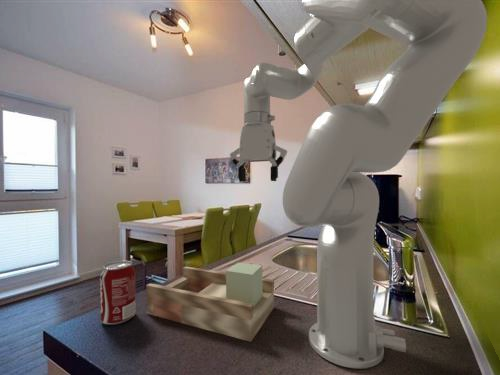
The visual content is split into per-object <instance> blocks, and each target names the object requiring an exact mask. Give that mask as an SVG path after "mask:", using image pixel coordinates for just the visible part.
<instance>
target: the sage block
mask: <svg viewBox="0 0 500 375" xmlns="http://www.w3.org/2000/svg"><path fill="white" fill-rule="evenodd" d="M225 273H226V299H230V300H235V301H240V302H245V303H250V304H253V307H254V306H255V305H256V304H257V303H258V301H259V300H260V299H261V298H262V297H263V291H262V278H263V265H260V264H255V263H254V264H253V263H245V262H237V263H235V264H233V266H231V267H229V268H227V270H225Z"/></svg>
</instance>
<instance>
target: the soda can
mask: <svg viewBox="0 0 500 375" xmlns="http://www.w3.org/2000/svg"><path fill="white" fill-rule="evenodd" d="M132 264H133V263H132V261H131V260H117V261H111V262H108V263H106V264H104V265H103V270H102V271H101V273H100V276H99V287H100V288H99V290H100V291H99V293H100V296H99V297H100V303H99V304H100V322H101V323H102V324H103V325H107V326H108V325H109V326H116V325H121V324H123V323H126V322H127V321H130V320H131V318H133V317H134V316H135V315H136V311H137V309H136V269H135V268H134V266H133V265H132Z"/></svg>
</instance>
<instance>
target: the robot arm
mask: <svg viewBox="0 0 500 375" xmlns="http://www.w3.org/2000/svg"><path fill="white" fill-rule="evenodd" d="M301 6H302V8H303V10H304V11H305V13H307V14H308V15H309V17H308V18H307V19H306V20H305V22H303V23H302V24H301V25H300V26H299V27H298V29H297V30H296V31H295V34H294V37H293V38H294V40H293V42H294V44H293V45H294V49H295V51H296V54H297V56H298V58H299V59H300V60H301V62H302V63H303V64H302V65H301V66H299V67H298V68H297V69H295V70H293V69H291V68H286V67H284V66H279V65H277V64H272V63H269V62H260V63H258V64H257V65H256V66H255V67H254V68H253V70H252V72H251V73H250V75H249V76H248V77H247V78H246V79H245V80H244V82H243V125H242V127H241V131H240V132H241V133H240V137H239V147H238V148H237V149H235V150H234V151H232V152H230V153H229V157H230V159H231V161H232V163H233V165H235V166H236V168H237V177H238V181H239V182H246V179H247V178H246V177H247V174H246V173H247V172H246V168H245V166H246V165H247V163H256V162H257V163H258V162H269V163H270V164H271V166H270V181H271V182H277V179H278V178H279V167H280V165H281V164H282V163H283V162H284V160H285V158H286V156H287V153H288V150H287V149H285V148H283V147H280V146H278V145H277V142H276V134H275V129H274V125H272V122H274V121H275V120H276V116H275V115H271V97H272V98H277V99H282V100H287V101H290V100H295V99H297V98H300V97H301V96H303V95H304V94H306V93H307V92H308V91H310V90H311V89H313V88H314V86H315V85H316V83H317V82H318V80H319V78H320V77H321V74H322V70H323V66H324V63H325V62H326V61H328V59H330V58H331V57H333V56H334V55H336V53H338V52H339V51H340V50H342V49H344V48H345V47H346V46H347V45H349V44H350V43H351V42H353V41H354V40H355V39H357V38H358V37H359V36H360V35H362V34H363V33H364V32H366V31H367V30H369V29H371V30H373V31H375V32H377V33H380V34H381V35H383V36H385V37H387V38H389V39H392V40H393V41H394V40H395V41H396V42H398V43H401V44H402V45H403V46H405V47H406V51H404V53H402V54H401V55H399V56H398V58H396V59H395V60H394V61H393V62H392V63H391V64H390V65H389V67H388V68H386V70H385V71H384V73H383V74H382V75H381V76H380V79H379V80H378V83H377V84H376V87H375V88H374V90H373V92H372V93H371V95H370V97H369V99H368V100H367V101H366V103H365V104H364V105H360V104H358V103H357V104H356V103H349V102H348V103H338V104H335V105H332V106H330V107H328V108H326V109H325V110H324V111H322V112H321V113H320V114H319V116H317V118H316V119H314V121H313V122H312V124H311V126H310V127H309V129H308V131H307V133H306V135H305V138H304V140H303V142H302V144H301V147H300V149H299V151H298V154H297V156H296V158H295V160H294V162H293V165H292V167H291V169H290V172H289V174H288V177H287V179H286V181H285V183H284V188H283V192H282V207H283V211H284V214H285V216H286V217H287V219H288V220H289V221H290V222H291V223H293V224H294V225H296V226H298V227H302V228H317V227H321V229H320V232H319V236H318V239H317V246H316V248H317V249H316V259H317V260H316V274H317V275H316V277H317V278H316V283H317V284H316V287H317V288H316V292H317V293H316V294H317V295H316V297H317V298H316V300H317V301H316V302H317V305H316V307H317V308H316V312H317V316H316V317H317V318H316V321H317V322H315V323H314V324H313V325H312V326H311V327H310V329H309V330H308V340H309V341H308V342H309V345H310V346H311V347H312V349H313V350H314V351H315V353H316V354H318V355H319V356H320V357H322V358H324V360H327V361H328V362H330V363H332V364H335V365H338V366H341V367H344V368H348V369H356V370H357V369H359V370H360V369H370V368H373V367H375V366H377V365H379V363H381V362H382V361H383V359H384V357H385V356H384V353H385V351H384V350H385V349H384V348H386V349H387V348H388V349H392V350H393V351H394V350H395V351H399V352H402V353H403V352H404V353H407V352H406V351H407V343H406V339H405V338H404V337H403V338H402V337H398V336H395V335H396V334H395V330H393V329H387V328H381V327H380V325H376V324H377V323H376V319H375V316H374V263H375V261H374V257H375V256H374V254H375V253H374V244H375V242H374V240H375V229H376V225H377V224H376V223H377V218H378V214H379V208H380V195H379V191H378V190H379V189H378V188H377V186H376V184H375V182H374V181H373V180H372V179H371V178H370V177H369V176H367V175H365V173H369V174H371V173H383V172H387V171H389V170H391V169H393V168H395V167H396V166H398V164H400V162H401V161H402V160H403V159H404V157H405V155H406V154H407V153H408V151H409V150H410V148H411V147H412V146H413V144H414V143H415V140H416V139H417V138H418V137H419V135H420V133H422V131H423V129H424V128H425V127H426V125H427V124H428V122H429V121H430V120H431V118H432V117H433V115H434V113H435V112H436V110H437V109H438V107H439V106H440V104H441V102H442V101H443V100H444V99H445V97H446V95H447V94H448V93H449V91H450V89H451V88H452V87H453V86H454V85H455V83H457V80H458V79H459V78H460V76H462V73H463V72H464V71H465V70H466V69H467V67H468V66H469V65H470V63H471V62H472V60H473V59H474V57H475V55H476V54H477V52H478V50H479V49H480V47H481V45H482V42H483V41H484V37H485V35H486V29H487V27H488V26H487V25H488V24H487V23H488V16H487V15H488V14H487V10H486V7H485V4H484V3H483V1H482V0H301ZM277 152H279V153H280V154H279V155H278V157H277ZM238 155H239V159H238Z"/></svg>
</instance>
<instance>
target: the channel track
mask: <svg viewBox="0 0 500 375" xmlns="http://www.w3.org/2000/svg"><path fill="white" fill-rule="evenodd" d="M145 287H146V288H145V291H146V292H145V294H146V295H145V297H146V299H145V300H146V314H148V315H150V316H154V317H157V316H158V318H162V319H166V320H169V321H173V322H176V323H180V324H183V325H188V326H191V327H195V328H198V329H202V330H206V331H210V332H213V333H218V334H221V335H225V336H229V337H232V338H235V339H238V340H242V341H247V342H250V343H252V341H253V340H254V338H255V337H256V335H257V333H258V332H259V330H260V329H261V328H262V326H263V325H264V323H265V322H266V320H267V319H268V317H269V316H270V314H271V313H272V311H273V310H274V308H275V279H268V278H263V277H262V291H263V297H262V298H261V299H260V300H259V301H258V303H257V304H256V305H255V306H254V307H253V304H250V303H245V302H240V301H235V300H230V299H226V271H224V272H223V271H219V270H211V269H203V268H200V267H199V268H197V267H192V266H191V267H190V266H184V267H182V277H179V278H177V279H176V280H174V281H172V282H170V283H169V284H167V285H161V284H156V283H147V284H146V286H145Z"/></svg>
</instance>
